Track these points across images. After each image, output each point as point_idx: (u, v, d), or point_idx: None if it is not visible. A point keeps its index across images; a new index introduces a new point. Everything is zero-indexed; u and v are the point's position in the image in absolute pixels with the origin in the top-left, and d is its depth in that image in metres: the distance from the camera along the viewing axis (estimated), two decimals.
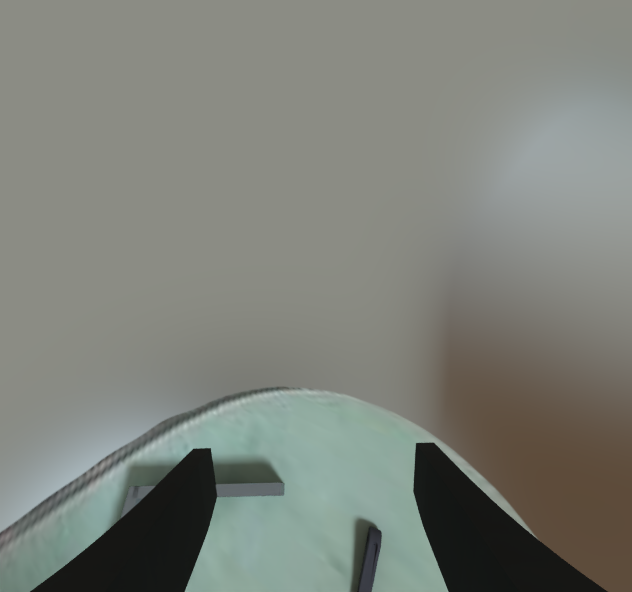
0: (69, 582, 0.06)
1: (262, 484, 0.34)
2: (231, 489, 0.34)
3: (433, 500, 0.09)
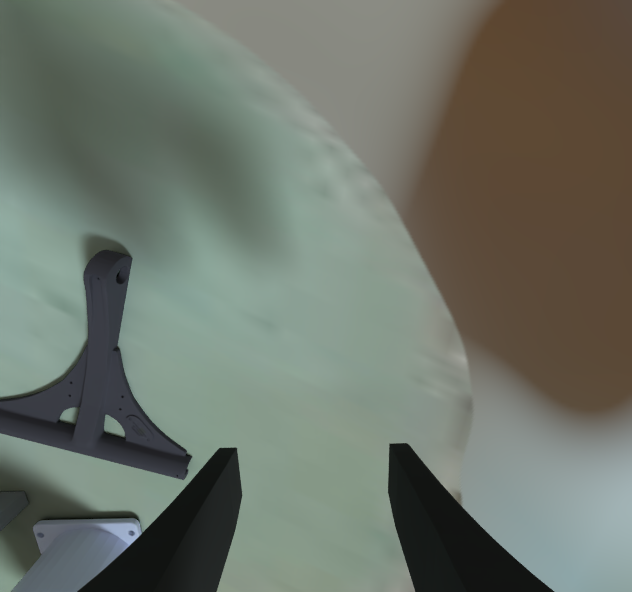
0: (116, 581, 0.06)
1: None
2: None
3: (403, 501, 0.09)
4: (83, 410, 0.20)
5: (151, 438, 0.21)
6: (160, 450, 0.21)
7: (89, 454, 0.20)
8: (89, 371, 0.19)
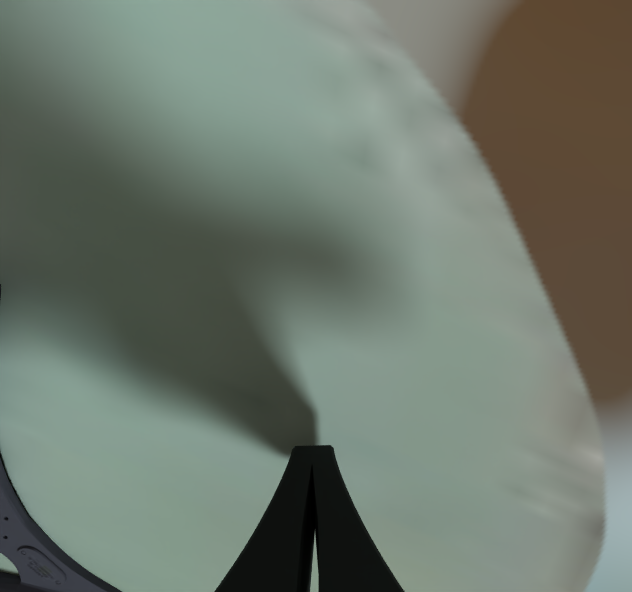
0: (253, 579, 0.05)
1: None
2: None
3: (314, 503, 0.09)
4: None
5: (62, 581, 0.12)
6: None
7: None
8: None
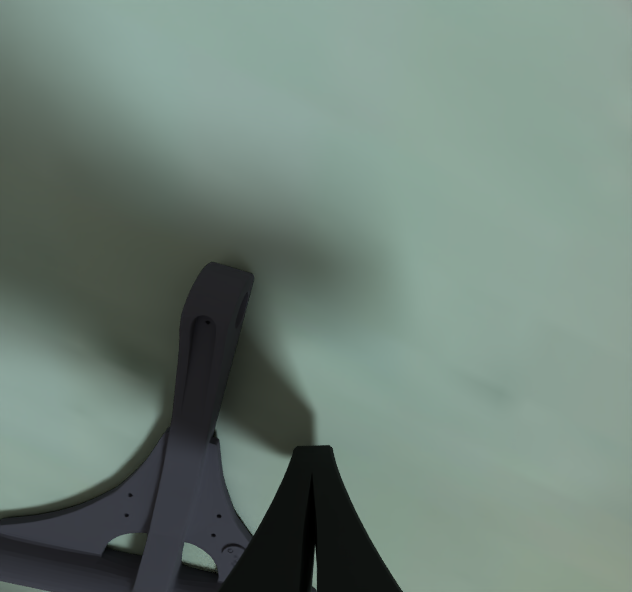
0: (255, 579, 0.05)
1: None
2: None
3: (313, 503, 0.09)
4: (152, 543, 0.11)
5: None
6: None
7: None
8: (167, 481, 0.10)
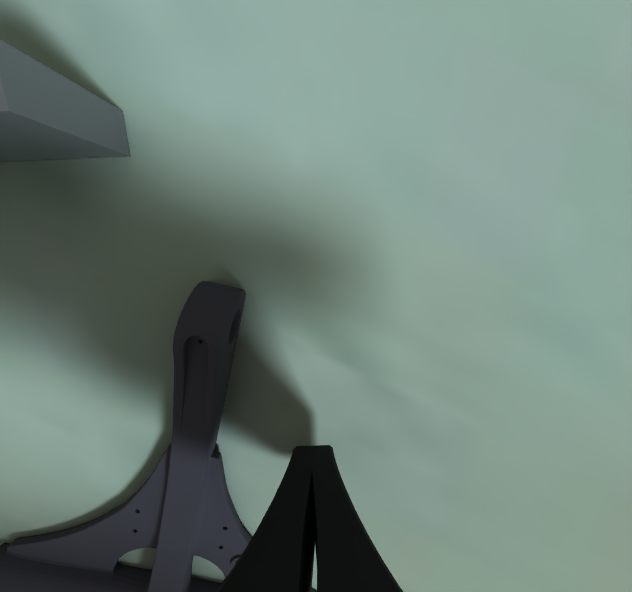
0: (255, 579, 0.05)
1: None
2: None
3: (313, 503, 0.09)
4: (161, 558, 0.11)
5: None
6: None
7: None
8: (172, 496, 0.11)
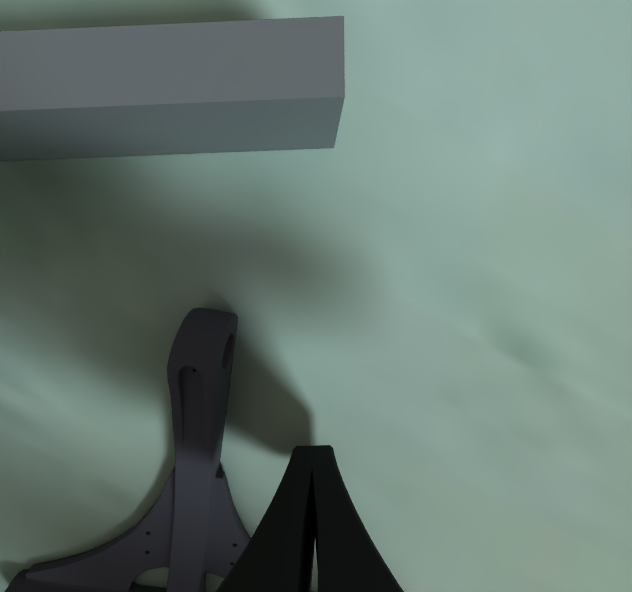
0: (254, 579, 0.05)
1: (216, 32, 0.05)
2: (19, 71, 0.05)
3: None
4: (174, 578, 0.11)
5: None
6: None
7: None
8: (180, 517, 0.11)
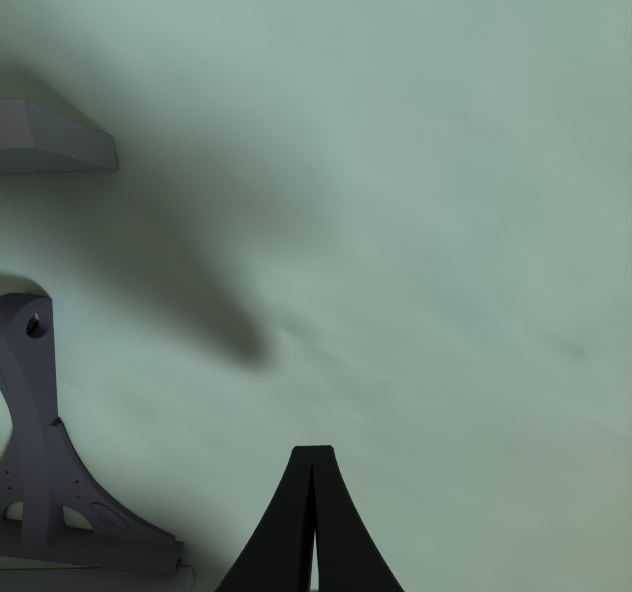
0: (253, 578, 0.05)
1: None
2: None
3: (314, 503, 0.09)
4: (28, 506, 0.15)
5: (125, 528, 0.16)
6: (140, 541, 0.16)
7: (47, 560, 0.15)
8: (24, 457, 0.14)
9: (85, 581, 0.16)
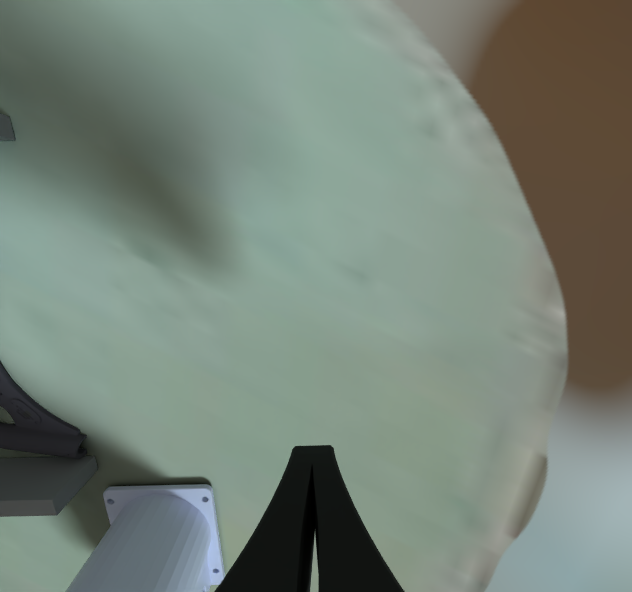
0: (253, 578, 0.05)
1: None
2: None
3: (314, 503, 0.09)
4: None
5: (39, 420, 0.20)
6: (51, 431, 0.20)
7: None
8: None
9: (9, 464, 0.21)
